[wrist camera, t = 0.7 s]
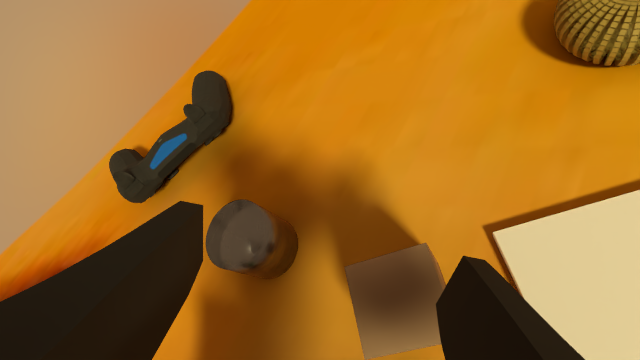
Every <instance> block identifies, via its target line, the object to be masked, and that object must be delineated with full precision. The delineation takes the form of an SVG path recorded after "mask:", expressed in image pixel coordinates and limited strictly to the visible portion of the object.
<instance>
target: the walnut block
mask: <svg viewBox="0 0 640 360" xmlns="http://www.w3.org/2000/svg"><path fill="white" fill-rule="evenodd" d="M345 272H346V276H347V281H348V286H349V290H350V295H351V299H352V304H353V308H354V313H355V317H356V322H357V327H358V331H359V336H360V340H361V345H362V349H363V354H364V358H365V360H367V359H371V358H376V357H381V356H386V355H391V354H396V353H401V352H405V351H410V350H415V349H420V348H425V347H430V346H434V345H439V344H441V339H440V333H439V327H438V319H437V311H436V303H437V301H438V299H439V298H440V296H441V294H442V292H443V291H444V289H445V287H446V284H445V281H444V278H443V276H442V273H441V270H440V267H439V265H438V262H437V261H436V259H435V257H434V256H433V254H432V252H431V250H430V249H429V247H428V245H427V244H426V243H423V244H420V245H416V246H413V247H410V248H406V249H403V250H399V251H396V252H393V253H389V254H386V255H383V256H379V257H376V258H373V259H369V260H366V261H362V262H359V263H356V264H352V265H349V266H346V267H345Z"/></svg>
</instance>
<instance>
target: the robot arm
mask: <svg viewBox="0 0 640 360" xmlns="http://www.w3.org/2000/svg"><path fill="white" fill-rule="evenodd" d="M202 261H203V205H199V204H194V203H189V202H184V201H180V202H178V203H176V204H175V205H173V206H171V207H170V208H168V209H166V210H165V211H163V212H162V213H160V214H158V215H157V216H155V217H154V218H152V219H150V220H149V221H147V222H146V223H144V224H142V225H141V226H139V227H138V228H136V229H134V230H133V231H131V232H130V233H128V234H126V235H125V236H123V237H121V238H120V239H118V240H116V241H115V242H113V243H111V244H110V245H108V246H106V247H105V248H103V249H101V250H99V251H98V252H96V253H94V254H92V255H90V256H89V257H87V258H85V259H83V260H81V261H80V262H78V263H76V264H74V265H72V266H71V267H69V268H67V269H65V270H63V271H62V272H60V273H58V274H56V275H54V276H52V277H50V278H48V279H46V280H44V281H42V282H40V283H38V284H36V285H34V286H32V287H30V288H28V289H26V290H24V291H22V292H20V293H18V294H16V295H14V296H12V297H10V298H7V299H5V300H3V301H1V302H0V360H152V358H153V357H154V355H155V353H156V351H157V350H158V348H159V346H160V344H161V343H162V341H163V339H164V337H165V336H166V334H167V332H168V330H169V329H170V327H171V325H172V323H173V322H174V320H175V318H176V316H177V314H178V313H179V311H180V309H181V307H182V306H183V304H184V302H185V300H186V298H187V297H188V295H189V292H190V290H191V288H192V286H193V283H194V281H195V279H196V276H197V274H198V271H199V269H200V266H201V264H202ZM436 311H437V319H438V327H439V333H440V339H441V344H442V348H443V352H444V356H445V359H446V360H585V359H584V358H583V357H582V356H581V355H580V354H579V353H578V352H577V351H576V350H575V349H574V348H573V347H572V346H571V345H570V344H569V343H568V342H567V341H566V340H564V339H563V338H562V337H561V336H560V335H559V334H558V333H557V332H556V331H555V330H554V329H553V328H552V327H551V326H550V325H549V324H548V323H547V322H546V321H545V320H544V319H543V318H542V317H541V316H540V315H539V314H538V313H537V311H536V310H535V309H534V308H533V307H532V306H531V305H530V304H529V303H528V302H527V301H526V300H525V299H524V298H523V297H522V296H521V295H520V294H519V293H518V292H517V291H516V290H515V289H514V288H513V287H512V286H511V285H510V284H509V283H508V282H507V281H506V280H505V279H504V278H503V277H502V276H501V275H500V274H499V273H498V272H497V271H496V270H495V269H494V268H493V267H492V266H491V265H490V264H489V263H487V262H486V261H485V260H482V259H477V258H472V257H467V256H463V257H462V259H461V261H460V262H459V264H458V266H457V268H456V269H455V271H454V273H453V275H452V276H451V278H450V280H449V282H448V283H447V285H446V287H445V289H444V291H443V292H442V294H441V296H440V298H439V299H438V301H437V303H436Z"/></svg>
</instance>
